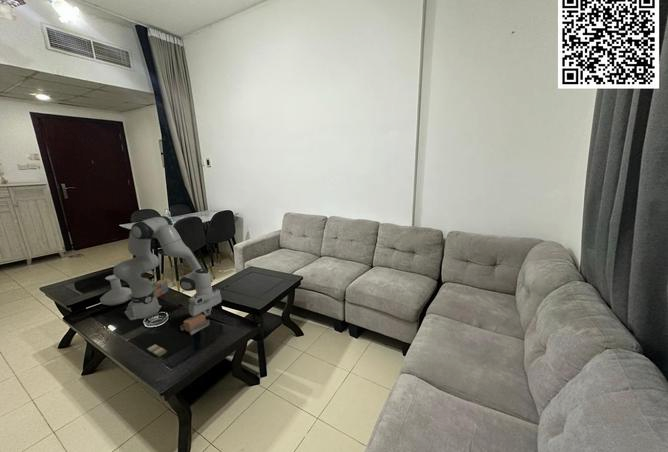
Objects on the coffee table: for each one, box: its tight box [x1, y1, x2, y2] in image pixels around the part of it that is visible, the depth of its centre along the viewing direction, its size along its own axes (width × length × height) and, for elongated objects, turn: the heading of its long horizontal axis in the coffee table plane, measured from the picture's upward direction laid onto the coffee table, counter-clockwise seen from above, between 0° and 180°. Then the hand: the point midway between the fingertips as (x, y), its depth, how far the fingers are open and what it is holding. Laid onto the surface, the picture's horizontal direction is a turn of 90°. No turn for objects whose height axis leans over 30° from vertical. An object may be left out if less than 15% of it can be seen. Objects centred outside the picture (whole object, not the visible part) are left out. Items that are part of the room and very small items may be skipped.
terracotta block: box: [183, 313, 207, 333], centre depth 156 cm, size 6×10×6 cm, turn 151°
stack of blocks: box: [150, 279, 170, 298], centre depth 197 cm, size 21×6×12 cm, turn 169°
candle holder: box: [99, 274, 132, 306], centre depth 191 cm, size 20×20×19 cm
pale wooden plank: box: [146, 319, 211, 358], centre depth 149 cm, size 11×32×4 cm, turn 151°
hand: (207, 315), depth 163 cm, fingers closed
